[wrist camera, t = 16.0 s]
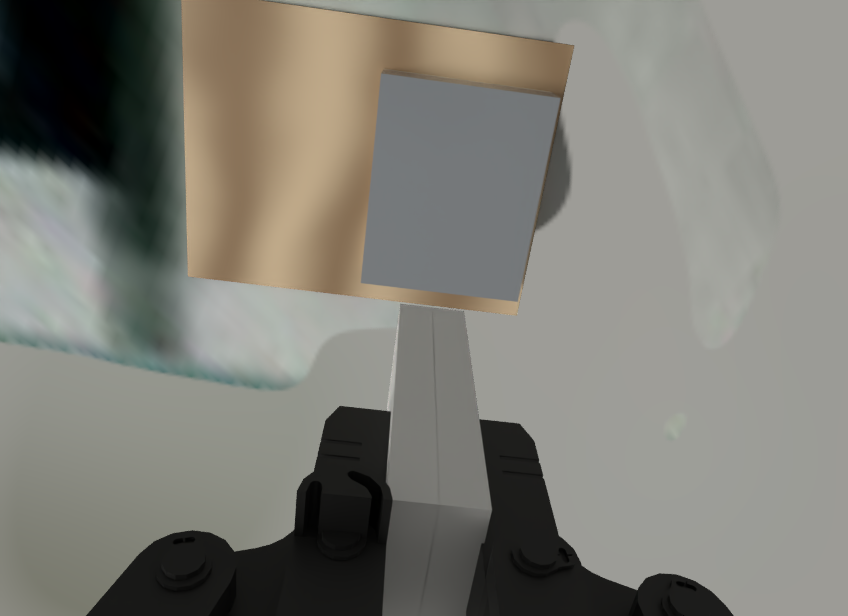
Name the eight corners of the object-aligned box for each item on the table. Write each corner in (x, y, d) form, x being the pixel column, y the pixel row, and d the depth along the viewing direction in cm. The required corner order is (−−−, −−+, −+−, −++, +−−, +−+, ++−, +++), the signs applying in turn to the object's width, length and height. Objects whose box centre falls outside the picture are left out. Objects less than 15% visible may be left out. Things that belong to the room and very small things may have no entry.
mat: (191, 272, 35) (187, 276, 35) (184, -11, 29) (181, -11, 29) (515, 311, 36) (516, 315, 36) (572, 45, 30) (574, 45, 30)
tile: (360, 283, 32) (517, 301, 33) (381, 73, 28) (560, 98, 29) (364, 265, 35) (511, 283, 35) (384, 68, 30) (550, 91, 31)
